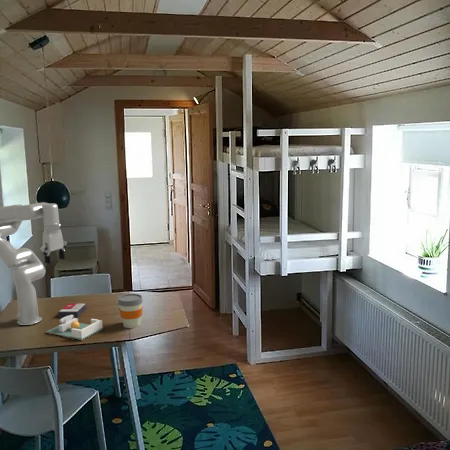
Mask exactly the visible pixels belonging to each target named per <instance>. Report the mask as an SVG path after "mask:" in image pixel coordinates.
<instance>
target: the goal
mask: <svg viewBox="0 0 450 450" xmlns="http://www.w3.org/2000/svg"><path fill="white" fill-rule="evenodd" d="M88 325H89V326H87V327H85V328H83V329H81V330H80V329H75V328H73V329H71V330H72V337H76V338H81V339H82V338H84V337H86V336H88V335H90V334H92V333H94V332H96V331H97V330H99V329H101V328H103V329H104V325H103V320H102V319H96V318H91V319H90V324H88Z"/></svg>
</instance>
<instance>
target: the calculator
mask: <svg viewBox="0 0 450 450" xmlns="http://www.w3.org/2000/svg"><path fill="white" fill-rule="evenodd" d="M86 310H87V304H86V303H68V304H66V305H65V306H64V307H62V309H60V310H59V311H58V312H57V313H58V319H61V318H63V317H66V316H69V315H73V318H77V319H79V317H80V316H81V315H82V314H83V313H84V311H86ZM73 318H72V319H73Z"/></svg>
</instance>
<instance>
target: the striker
mask: <svg viewBox="0 0 450 450" xmlns="http://www.w3.org/2000/svg"><path fill="white" fill-rule="evenodd" d="M73 321H77V322H79V318H73V315H69V316H66V317H63V318H60V319H59V323H61V324H58V326H59V331H60V332H64V331H66V330H68V329H70V328H71V323H72V322H73Z"/></svg>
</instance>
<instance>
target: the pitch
mask: <svg viewBox="0 0 450 450" xmlns="http://www.w3.org/2000/svg"><path fill="white" fill-rule="evenodd" d="M79 324H80V326H79V328H78V329H80V330H81V329H83V328H85V327H87V326H89V325H90V324H87V323H82V322H79ZM103 330H104V327H103V328H101V329H99V330H97V331H96V332H94V333H92V334H90V335H88V336H86V337H84V338H82V339H81V338H76V337H72V330H71V328H70V329H68V330H66V331H64V332H60V331H59V325H57V326H55V327H53V328H51V329H48V330H46V331H45V333H46V332H49V333H53V334H57V335H62V336H66V337H70V338H74V339H78V340H77V341H79V340H83V339H84V340H86V339H88V338H90V337H91V335H92V336H94V335H95V333H96V334H97V333H99V332H101V331H103ZM93 334H94V335H93ZM89 336H90V337H89ZM87 337H88V338H87ZM85 338H86V339H85ZM74 339H73V340H74ZM84 340H83V341H84Z"/></svg>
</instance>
